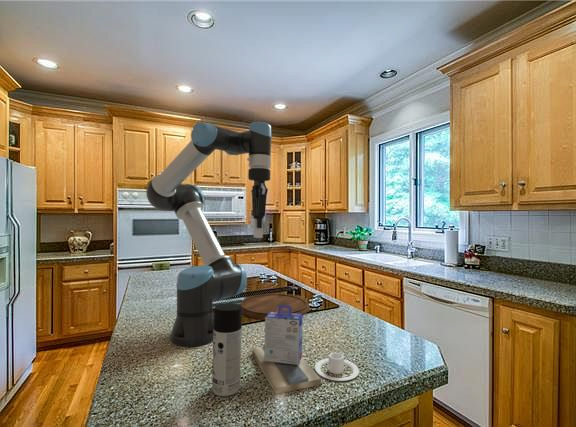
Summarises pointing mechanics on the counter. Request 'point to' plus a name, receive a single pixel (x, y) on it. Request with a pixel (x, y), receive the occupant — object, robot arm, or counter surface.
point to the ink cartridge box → (283, 336)
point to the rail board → (286, 373)
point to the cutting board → (272, 305)
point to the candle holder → (336, 367)
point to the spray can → (227, 349)
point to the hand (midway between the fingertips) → (258, 237)
